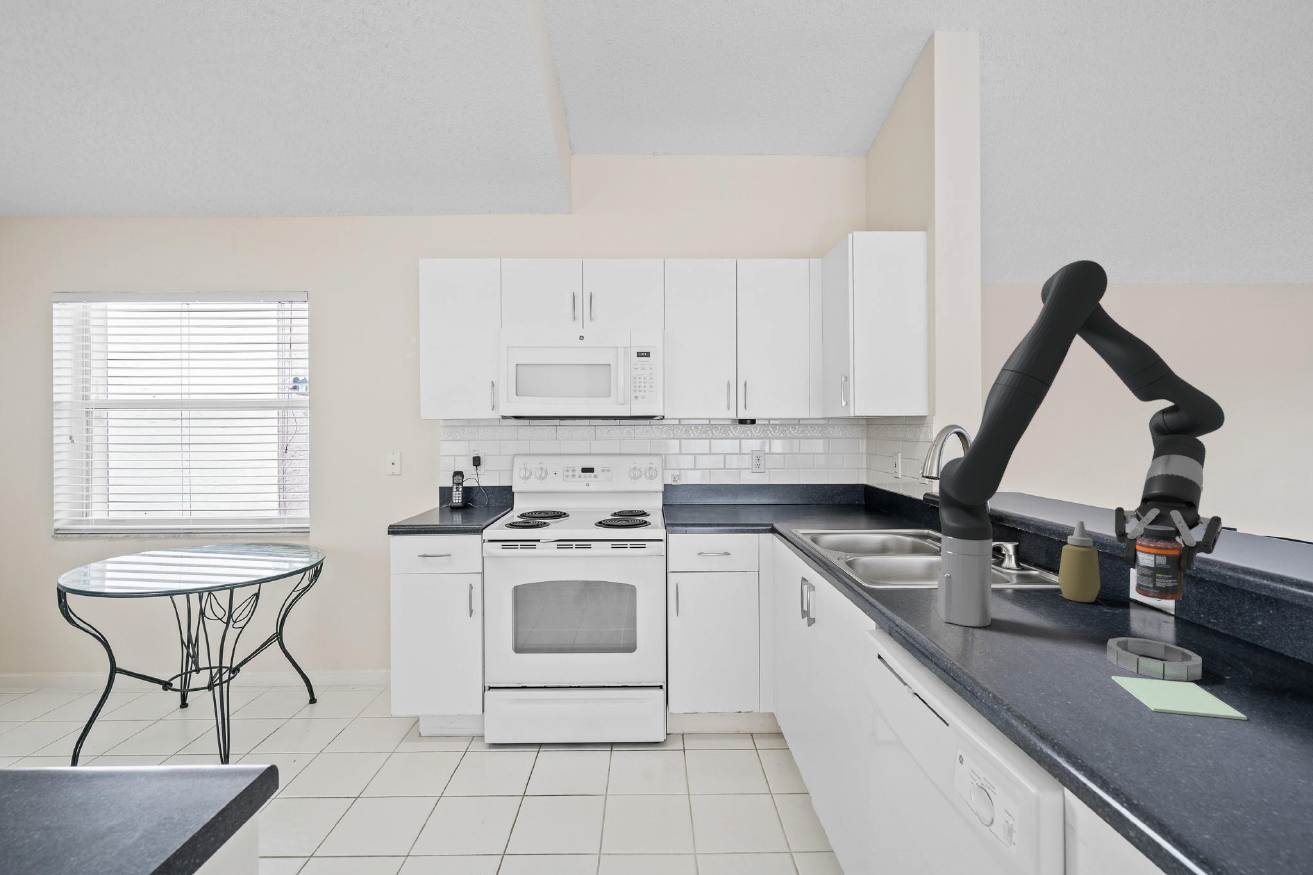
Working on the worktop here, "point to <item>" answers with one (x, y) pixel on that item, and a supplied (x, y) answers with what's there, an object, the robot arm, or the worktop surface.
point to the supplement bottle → (1159, 564)
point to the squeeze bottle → (1079, 567)
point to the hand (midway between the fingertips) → (1157, 565)
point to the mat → (1177, 697)
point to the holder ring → (1180, 667)
